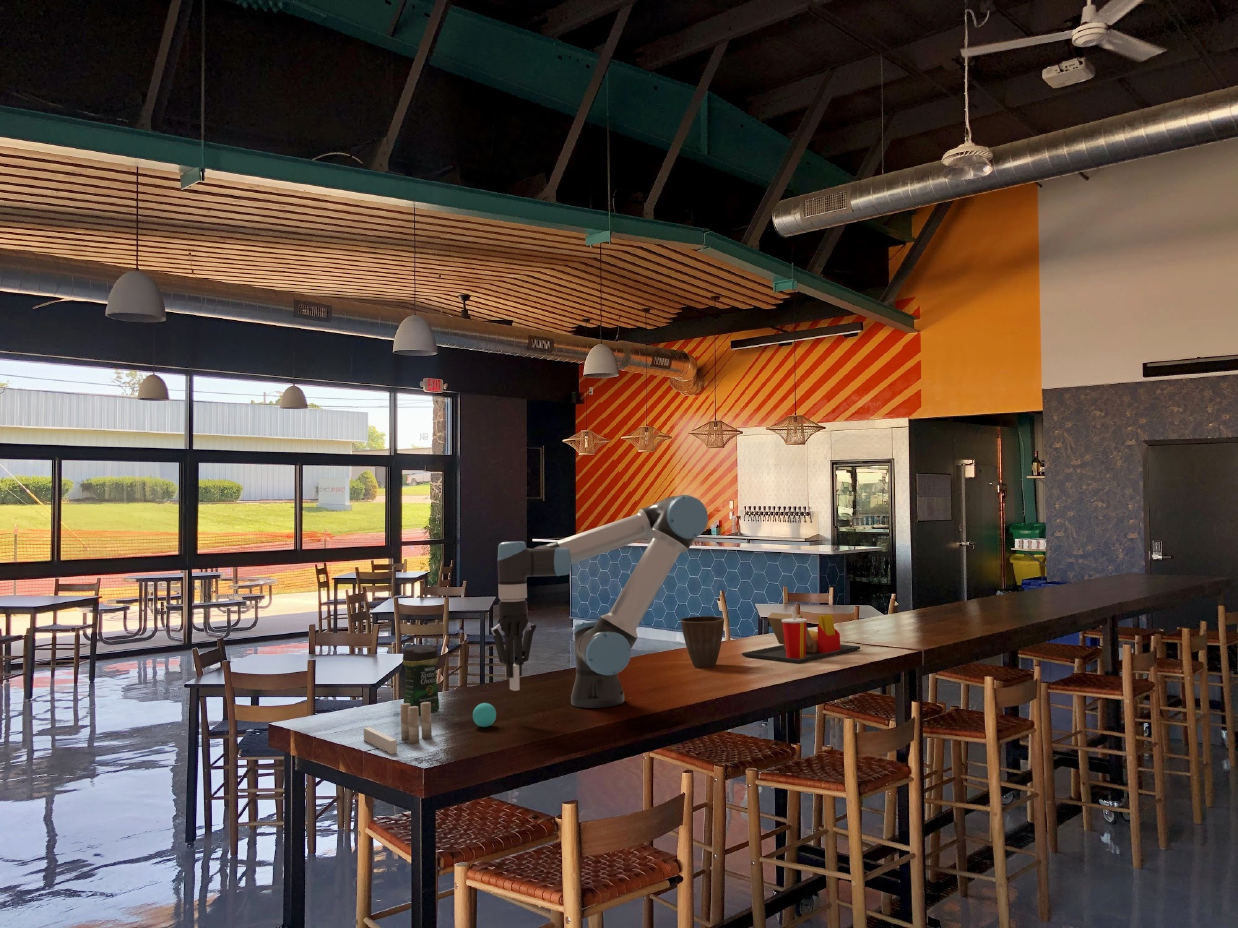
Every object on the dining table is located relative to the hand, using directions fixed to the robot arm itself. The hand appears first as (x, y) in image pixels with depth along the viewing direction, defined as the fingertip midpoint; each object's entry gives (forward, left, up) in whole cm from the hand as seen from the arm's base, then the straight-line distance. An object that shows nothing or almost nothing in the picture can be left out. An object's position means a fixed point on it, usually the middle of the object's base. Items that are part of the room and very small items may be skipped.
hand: (514, 689), depth 244 cm
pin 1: (+29, -2, -8) cm, 31 cm away
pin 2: (+29, +3, -8) cm, 31 cm away
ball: (+9, 0, -5) cm, 10 cm away
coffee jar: (+14, -29, -8) cm, 33 cm away
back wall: (+37, 0, -8) cm, 38 cm away
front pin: (+25, 0, -8) cm, 26 cm away
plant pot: (-87, -26, -8) cm, 91 cm away
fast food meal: (-127, -19, -9) cm, 128 cm away
